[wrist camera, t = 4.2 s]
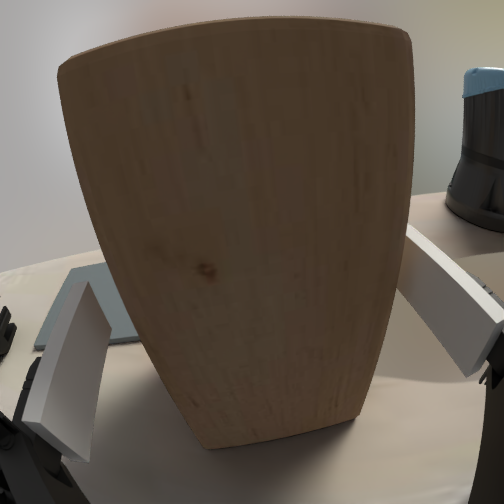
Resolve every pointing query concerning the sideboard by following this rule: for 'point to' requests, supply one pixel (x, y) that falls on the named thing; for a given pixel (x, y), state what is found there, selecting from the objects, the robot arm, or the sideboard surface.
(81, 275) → the mat
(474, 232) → the sideboard surface
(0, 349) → the black rounded block
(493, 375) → the robot arm
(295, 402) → the wooden block
